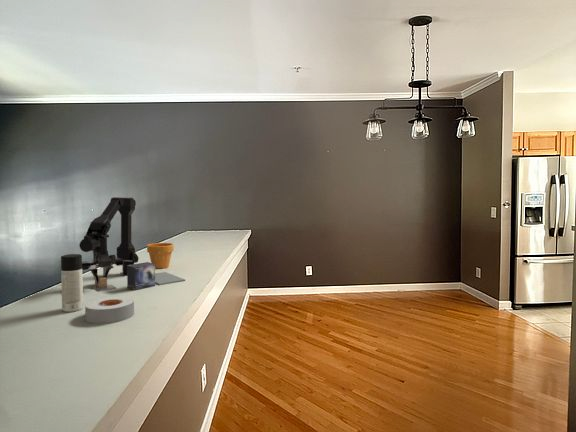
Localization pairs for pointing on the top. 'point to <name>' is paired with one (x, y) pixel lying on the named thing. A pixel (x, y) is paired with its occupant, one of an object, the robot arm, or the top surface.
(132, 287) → the small box
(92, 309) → the tape roll
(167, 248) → the flower pot
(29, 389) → the top surface
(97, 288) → the turner
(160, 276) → the mat
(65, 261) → the spray can
